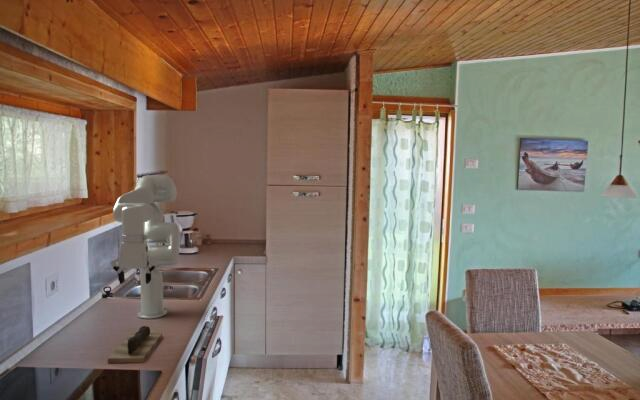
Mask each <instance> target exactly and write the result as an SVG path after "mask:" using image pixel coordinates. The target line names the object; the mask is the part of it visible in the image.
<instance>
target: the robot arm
mask: <svg viewBox="0 0 640 400" xmlns="http://www.w3.org/2000/svg"><path fill="white" fill-rule="evenodd" d="M177 197H178V189H177V187H176V185H175V182H174V181H173V179H172V177H170V176H169V175H166V174H165V175H155V174H154V175H153V174H152V175H151V174H149V175H143V176H142V177H140V178H139V180H138V182H137V184H136V186H135V188H134V189H133V190H131V191H129V192H126V193H124V194H122V195H121V196H119V197H118V198H117V200H116V202H115V203H114V207H113V209H112V214H113V215H112V216H113V219H114V220H115V221H116V222H118V223H121V227H122V228H121V229H122V230H121V231H122V232H121V233H122V241H121V242H120V245H119V246H120V247H119V257H117V258H115V259H113V260H112V261H110V262H109V263H110V265H111V267H112V269H113V270H114V272H116V273H117V277H118V278H117V280H118V282H119V285H122V284H123V283H124V282H125V272H124V270H138V269H139V277H140V278H139V279H140V310H139V311H138V312H137V317H138V318H139V319H148V320H151V319H159V318H161V317H163V316H166V315H167V314H168V310H167V309H166V308H164V277H163V273H162V272H161V270H160V269H159V268H158V267H173V266H176V265H177V264H178V262H179V255H180V228H179V225H178V224H177V223H175V222H171V221H169V222H164V212H163V210H162V209H161V208H160V206H159V205H158V204H157V203H172V202H174V201H176V199H177ZM148 244H156V245H148ZM117 263H119V266H118V264H117Z"/></svg>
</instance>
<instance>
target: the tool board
mask: <svg viewBox="0 0 640 400" xmlns="http://www.w3.org/2000/svg"><path fill="white" fill-rule="evenodd" d="M134 336H135V333H130V334H129V336H127V338H125V340H124V341H123V342H122V343H121V344H120V345H119V346H118V347H117V348H115V350H114V351H113V353H112V354H111V355H109V357H108V358H107V363H108V364H109V363H111V364H112V363H113V364H114V363H116V364H117V363H144V362H145V360H146V359H147V358H148V357H149V355H150V354H151V353H152V351H153V350H154V349H155V348H156V346H157V344H158V343H160V340H161V339H162V338H163V333H162V332H156V333H155V332H154V333H151V332H150V334H149V336H146V337H145V338H144V339H143V340H142V342H141V343H140V344H139V345H138V346H137V349H136V350H134V351H133V352H132V353H129V354H128V340H129V339H130V338H131V337H134Z"/></svg>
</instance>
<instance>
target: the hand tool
mask: <svg viewBox="0 0 640 400" xmlns="http://www.w3.org/2000/svg"><path fill="white" fill-rule="evenodd" d="M150 333H151V329H150V327H149V326H146V325H143V326H141V327H139V330H138V331H136V332H134V334H135V336H134V337H131V338H130V339H129V340H128V354H129V353H132V352H133V351H134V350H136V349H137V346H138V345H139V344H140V343H141V342H142V340H143V339H144V338H145V337H146V336H149V334H150Z"/></svg>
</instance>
